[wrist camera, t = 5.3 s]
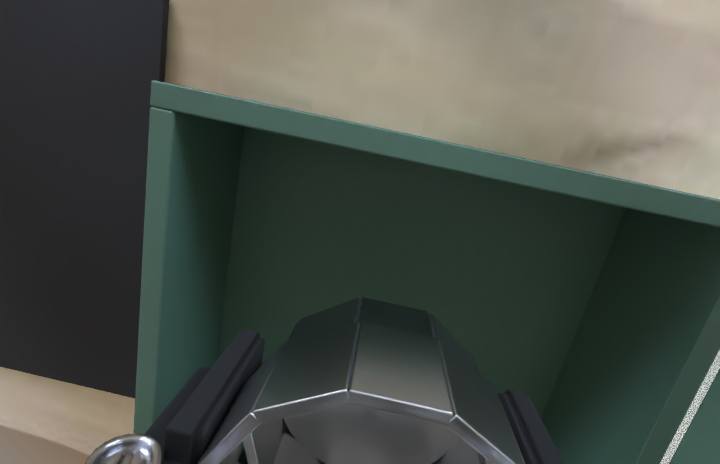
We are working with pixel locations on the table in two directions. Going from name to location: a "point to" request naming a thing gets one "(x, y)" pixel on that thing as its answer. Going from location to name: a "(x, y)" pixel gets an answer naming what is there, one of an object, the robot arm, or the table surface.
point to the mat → (75, 184)
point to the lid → (702, 432)
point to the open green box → (427, 263)
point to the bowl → (366, 396)
